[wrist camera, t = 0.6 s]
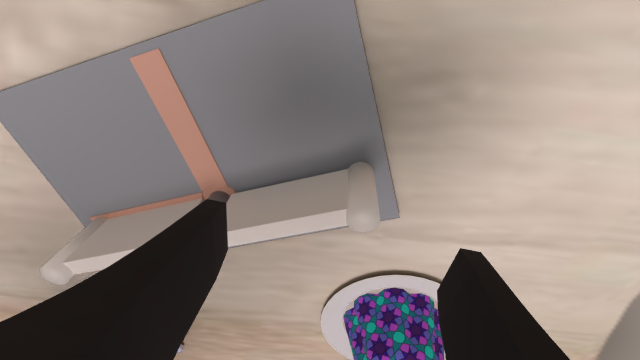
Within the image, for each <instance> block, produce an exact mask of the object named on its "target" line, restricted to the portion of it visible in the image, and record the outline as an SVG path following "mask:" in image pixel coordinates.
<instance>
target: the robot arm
mask: <svg viewBox="0 0 640 360" xmlns="http://www.w3.org/2000/svg"><path fill="white" fill-rule="evenodd" d="M227 250H228V234H227V209H226V203H225V202H220V201H215V200H210V199H206V200H205V201H203V202H202V203H200V204H199V205H198V206H196V207H195V208H194V209H192V210H191V211H189V212H188V213H187V214H185V215H184V216H183V217H181V218H180V219H179V220H177V221H176V222H174V223H173V224H172V225H170V226H169V227H168V228H166V229H165V230H163V231H162V232H160V233H159V234H157V235H156V236H155V237H153V238H152V239H150V240H149V241H147V242H146V243H144V244H143V245H142V246H140V247H138V248H137V249H135V250H134V251H132V252H131V253H129V254H127V255H126V256H124V257H123V258H121V259H120V260H118V261H117V262H115V263H113V264H112V265H110V266H108V267H107V268H105V269H103V270H102V271H100V272H98V273H97V274H95V275H93V276H91V277H90V278H88V279H86V280H84V281H82V282H81V283H79V284H77V285H75V286H73V287H71V288H70V289H68V290H66V291H64V292H62V293H60V294H58V295H56V296H54V297H52V298H50V299H48V300H46V301H44V302H42V303H39V304H37V305H35V306H33V307H31V308H29V309H27V310H25V311H23V312H21V313H19V314H17V315H15V316H13V317H11V318H8V319H6V320H4V321H2V322H0V360H173V359H174V357H175V355H176V353H180V352H182V350H183V345H182V344H181V343H182V342H183V340H184V338H185V336H186V334H187V332H188V330H189V329H190V327H191V325H192V323H193V321H194V319H195V318H196V316H197V314H198V312H199V310H200V308H201V307H202V305H203V303H204V301H205V299H206V297H207V295H208V293H209V292H210V290H211V288H212V286H213V284H214V282H215V280H216V278H217V276H218V273H219V271H220V269H221V266H222V264H223V261H224V258H225V256H226V253H227ZM437 301H438V315H439V325H440V331H441V336H442V341H443V346H444V351H445V356H446V360H570V359H569V358H568V357H567V356H566V355H565V353H564V352H563V351H562V350H561V349H560V348H559V347H558V346H557V344H556V343H555V342H554V341H553V340H552V339H551V338H550V337H549V335H548V334H547V333H546V332H545V331H544V330H543V328H542V327H541V326H540V325H539V324H538V322H537V321H536V320H535V319H534V318H533V316H532V315H531V314H530V313H529V312H528V310H527V309H526V308H525V307H524V306H523V304H522V303H521V302H520V301H519V299H518V298H517V297H516V296H515V294H514V293H513V292H512V291H511V289H510V288H509V287H508V285H507V284H506V283H505V282H504V280H503V279H502V278H501V277H500V275H499V274H498V273H497V272H496V270H495V269H494V268H493V267H492V265H491V264H490V263H489V262H488V260H487V259H486V258H485V257H484V256H483V254H482V253H481V252H477V251H472V250H466V249H461V248H460V250H459V252H458V253H457V255H456V257H455V259H454V261H453V262H452V264H451V266H450V268H449V270H448V272H447V273H446V275H445V277H444V279H443V281H442V282H441V284H440V286H439V288H438V290H437Z"/></svg>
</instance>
